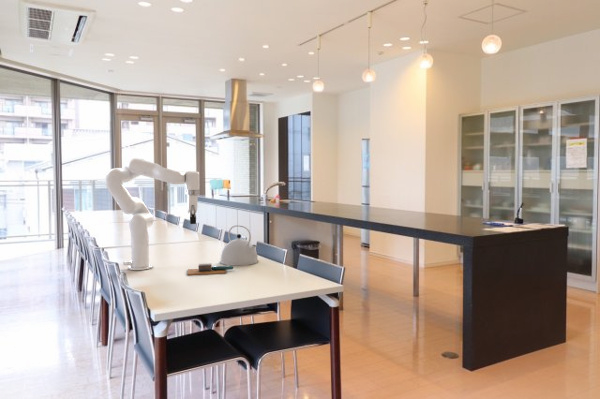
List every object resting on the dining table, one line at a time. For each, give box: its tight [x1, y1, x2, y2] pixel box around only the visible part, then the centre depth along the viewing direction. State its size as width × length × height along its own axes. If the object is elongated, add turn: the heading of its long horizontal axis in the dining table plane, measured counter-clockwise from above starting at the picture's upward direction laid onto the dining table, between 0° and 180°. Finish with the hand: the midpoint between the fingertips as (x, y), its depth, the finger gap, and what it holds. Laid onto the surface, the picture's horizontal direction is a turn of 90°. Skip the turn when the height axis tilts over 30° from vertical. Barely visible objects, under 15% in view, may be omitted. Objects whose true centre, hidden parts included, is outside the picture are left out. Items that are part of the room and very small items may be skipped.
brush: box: [197, 263, 234, 272], centre depth 254 cm, size 19×4×4 cm, turn 103°
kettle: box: [220, 224, 259, 266], centre depth 281 cm, size 25×23×22 cm
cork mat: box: [187, 268, 227, 276], centre depth 253 cm, size 20×12×1 cm, turn 103°
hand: (193, 223), depth 261 cm, fingers open, 9 cm apart
